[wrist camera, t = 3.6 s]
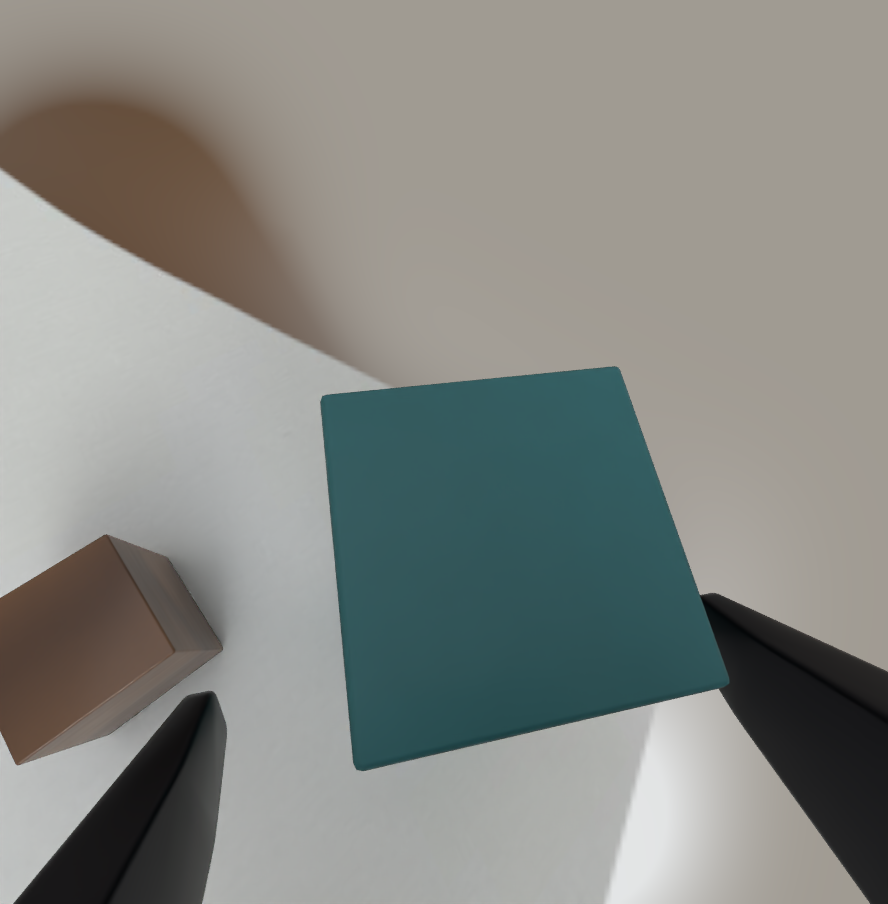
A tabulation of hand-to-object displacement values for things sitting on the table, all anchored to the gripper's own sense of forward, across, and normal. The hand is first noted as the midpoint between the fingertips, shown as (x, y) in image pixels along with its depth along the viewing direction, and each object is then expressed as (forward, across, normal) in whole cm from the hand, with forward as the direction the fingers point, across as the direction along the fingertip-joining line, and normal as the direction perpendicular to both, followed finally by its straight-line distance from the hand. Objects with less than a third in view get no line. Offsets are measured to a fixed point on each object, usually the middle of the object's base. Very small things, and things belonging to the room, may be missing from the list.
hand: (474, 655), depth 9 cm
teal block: (+7, 0, +5) cm, 9 cm away
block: (+8, +10, +5) cm, 13 cm away
